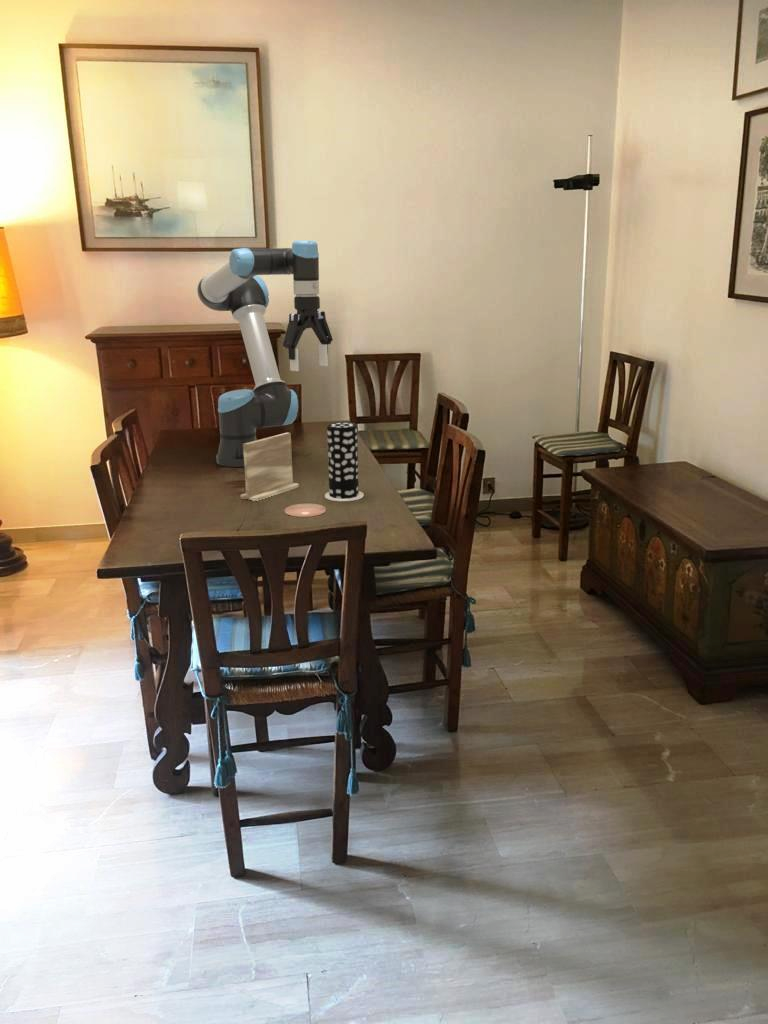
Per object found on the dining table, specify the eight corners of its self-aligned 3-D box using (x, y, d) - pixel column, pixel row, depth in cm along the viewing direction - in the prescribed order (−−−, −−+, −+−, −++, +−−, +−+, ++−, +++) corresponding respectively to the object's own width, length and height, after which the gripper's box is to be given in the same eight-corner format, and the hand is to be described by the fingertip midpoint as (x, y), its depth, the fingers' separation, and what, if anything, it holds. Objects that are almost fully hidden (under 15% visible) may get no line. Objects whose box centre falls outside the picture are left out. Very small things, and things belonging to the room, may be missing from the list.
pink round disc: (276, 512, 216) (276, 511, 216) (303, 502, 225) (303, 501, 225) (307, 519, 210) (307, 518, 210) (334, 509, 219) (334, 507, 219)
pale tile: (316, 497, 230) (316, 496, 229) (340, 488, 238) (340, 487, 238) (347, 503, 224) (347, 502, 223) (371, 494, 232) (371, 493, 232)
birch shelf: (240, 498, 230) (237, 442, 225) (283, 484, 244) (281, 431, 239) (256, 501, 226) (253, 445, 221) (298, 487, 240) (296, 433, 235)
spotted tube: (362, 491, 233) (361, 423, 227) (352, 499, 226) (350, 428, 220) (335, 489, 236) (333, 421, 230) (324, 497, 228) (322, 427, 222)
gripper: (288, 297, 228) (291, 373, 234) (342, 294, 247) (344, 364, 254) (268, 297, 232) (272, 372, 238) (323, 293, 251) (325, 363, 258)
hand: (309, 368), depth 246 cm, fingers open, 13 cm apart
